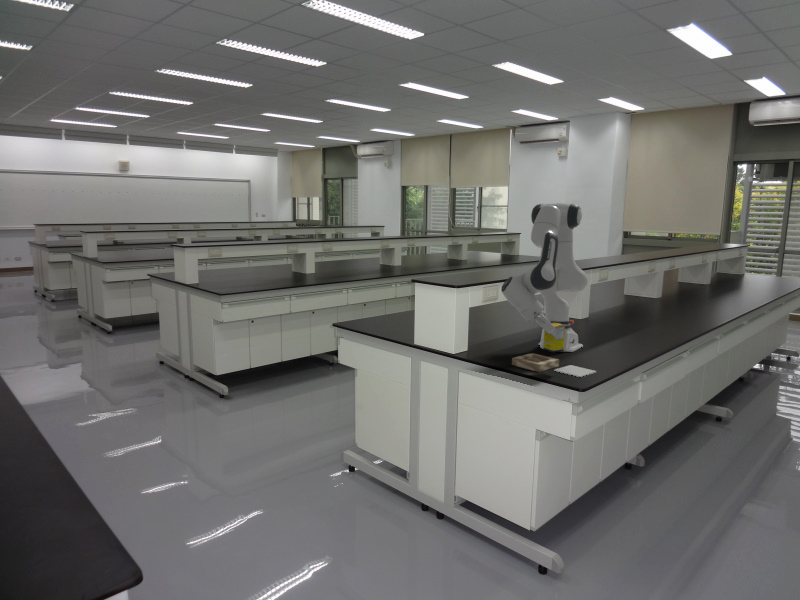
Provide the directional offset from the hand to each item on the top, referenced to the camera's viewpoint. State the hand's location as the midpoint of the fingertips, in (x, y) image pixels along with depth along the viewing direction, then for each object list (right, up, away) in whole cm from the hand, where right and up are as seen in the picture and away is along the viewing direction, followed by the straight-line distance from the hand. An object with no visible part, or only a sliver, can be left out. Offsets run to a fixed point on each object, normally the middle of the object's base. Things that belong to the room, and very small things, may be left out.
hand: (556, 335), depth 218 cm
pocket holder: (-6, -14, +10) cm, 18 cm away
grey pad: (+8, -15, +1) cm, 17 cm away
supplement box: (-1, -7, +1) cm, 7 cm away
